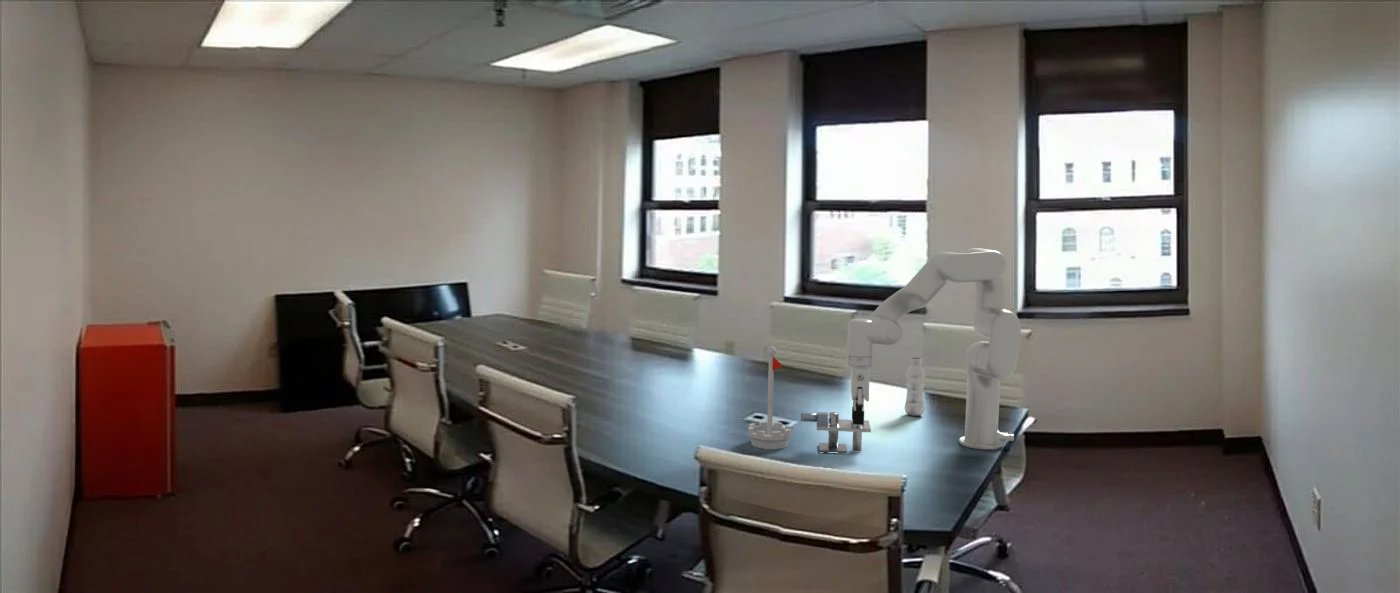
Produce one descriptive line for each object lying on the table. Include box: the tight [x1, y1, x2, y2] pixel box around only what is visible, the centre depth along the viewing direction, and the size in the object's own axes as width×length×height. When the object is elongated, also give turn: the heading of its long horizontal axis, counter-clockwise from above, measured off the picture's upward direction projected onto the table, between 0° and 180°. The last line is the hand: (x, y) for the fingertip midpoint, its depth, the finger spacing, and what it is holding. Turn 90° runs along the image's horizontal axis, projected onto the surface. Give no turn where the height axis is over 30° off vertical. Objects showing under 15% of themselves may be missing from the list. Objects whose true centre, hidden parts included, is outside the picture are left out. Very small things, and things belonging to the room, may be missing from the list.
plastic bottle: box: [904, 357, 926, 417], centre depth 307 cm, size 6×7×20 cm
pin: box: [851, 403, 863, 452], centre depth 263 cm, size 3×3×14 cm
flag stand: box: [747, 346, 792, 450], centre depth 268 cm, size 13×13×30 cm
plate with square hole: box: [800, 411, 872, 454], centre depth 264 cm, size 20×10×11 cm, turn 83°
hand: (857, 421), depth 263 cm, fingers open, 4 cm apart
